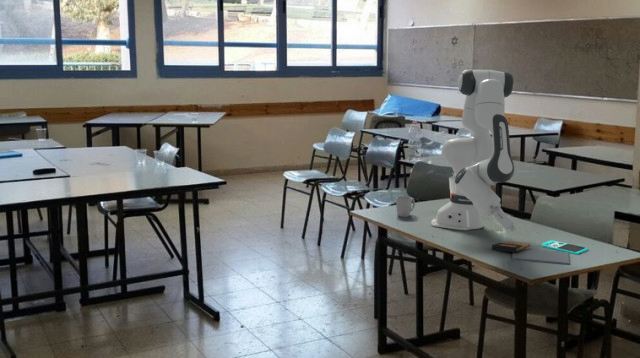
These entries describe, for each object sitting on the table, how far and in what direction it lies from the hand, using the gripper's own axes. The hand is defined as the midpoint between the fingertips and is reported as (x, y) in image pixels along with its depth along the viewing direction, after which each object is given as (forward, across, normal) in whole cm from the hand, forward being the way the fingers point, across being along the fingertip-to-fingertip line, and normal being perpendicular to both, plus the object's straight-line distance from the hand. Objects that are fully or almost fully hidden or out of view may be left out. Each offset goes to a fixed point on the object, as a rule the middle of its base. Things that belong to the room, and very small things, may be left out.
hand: (513, 229), depth 255 cm
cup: (-19, +58, +32) cm, 69 cm away
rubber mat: (+13, -4, 0) cm, 14 cm away
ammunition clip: (+3, 0, +8) cm, 9 cm away
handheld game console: (+23, +8, -8) cm, 26 cm away
